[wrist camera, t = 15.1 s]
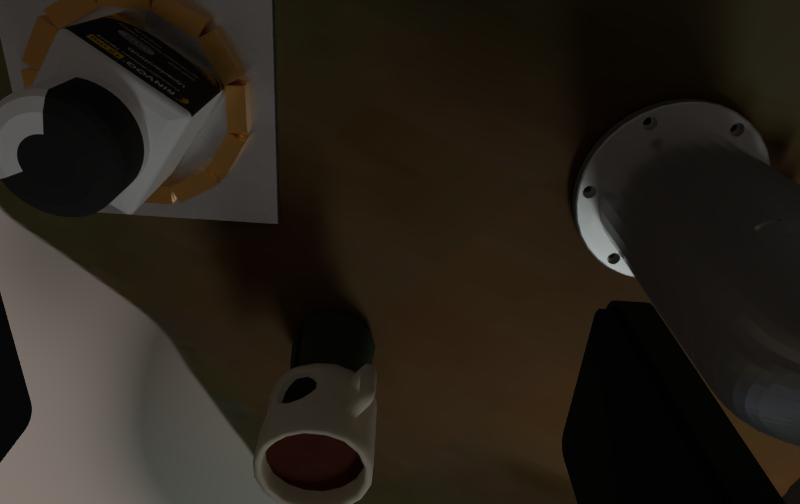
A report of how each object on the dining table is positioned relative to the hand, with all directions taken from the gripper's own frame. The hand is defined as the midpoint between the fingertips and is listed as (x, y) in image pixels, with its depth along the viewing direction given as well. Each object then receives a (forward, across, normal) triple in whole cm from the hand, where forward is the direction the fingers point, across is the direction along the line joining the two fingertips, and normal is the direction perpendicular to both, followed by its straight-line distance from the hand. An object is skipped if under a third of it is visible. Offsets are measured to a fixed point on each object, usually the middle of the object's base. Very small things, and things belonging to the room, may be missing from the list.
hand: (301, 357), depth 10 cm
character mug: (+31, +2, +22) cm, 38 cm away
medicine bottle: (+30, +14, +4) cm, 33 cm away
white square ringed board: (+30, +14, +4) cm, 34 cm away
